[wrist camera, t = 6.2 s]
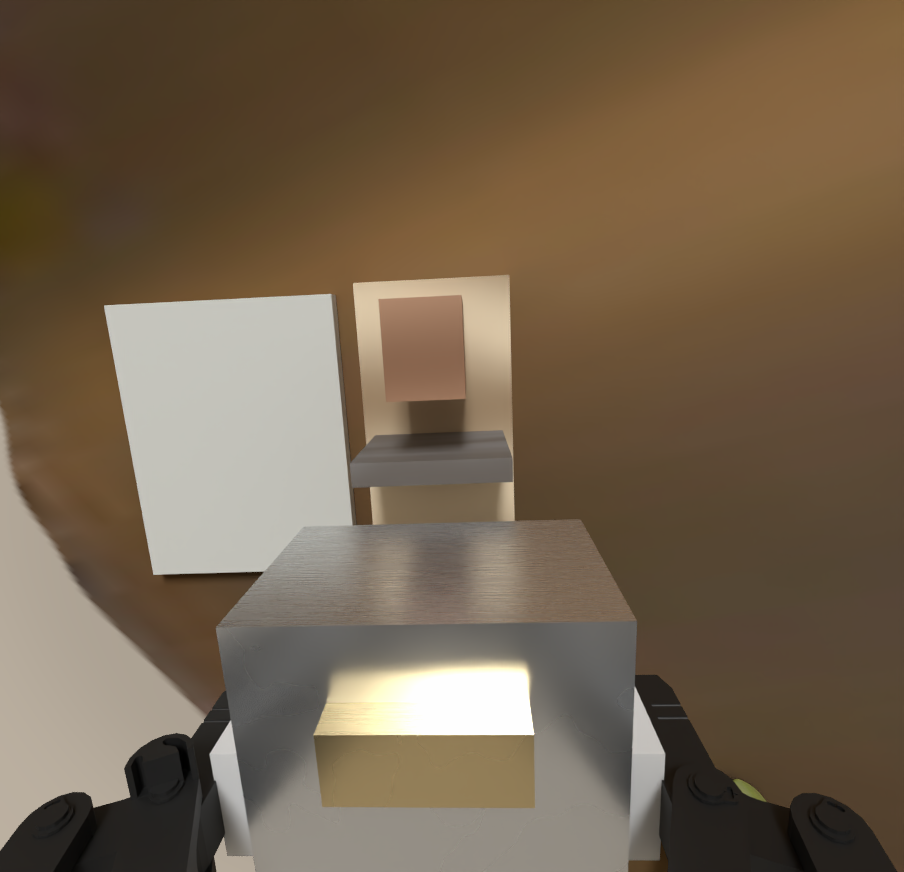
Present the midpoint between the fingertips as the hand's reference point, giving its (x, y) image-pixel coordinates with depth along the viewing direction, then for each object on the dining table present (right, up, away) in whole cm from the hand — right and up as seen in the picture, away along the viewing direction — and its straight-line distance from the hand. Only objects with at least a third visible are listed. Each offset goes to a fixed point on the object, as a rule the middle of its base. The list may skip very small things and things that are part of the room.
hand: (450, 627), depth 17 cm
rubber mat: (-11, +6, +9) cm, 15 cm away
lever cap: (0, 0, -2) cm, 2 cm away
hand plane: (0, +2, +9) cm, 10 cm away
